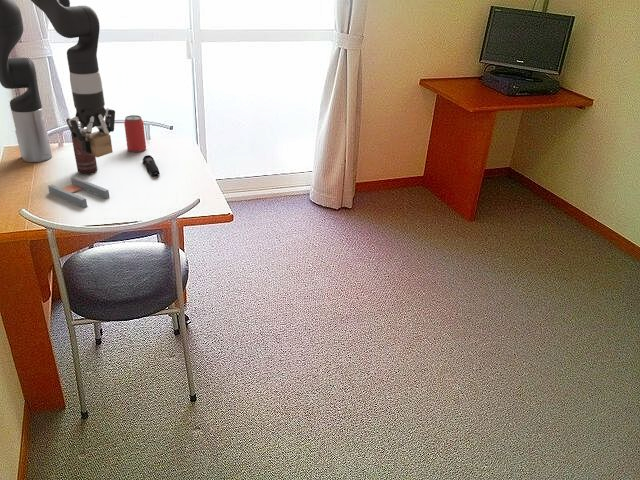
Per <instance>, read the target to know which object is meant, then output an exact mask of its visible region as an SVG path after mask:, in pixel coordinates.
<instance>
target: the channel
mask: <svg viewBox="0 0 640 480" xmlns="http://www.w3.org/2000/svg"><path fill="white" fill-rule="evenodd" d="M70 180H71V184H68V185H65V186H64V187H63V186H62V187H59V186H57V185H54V184H48V186H47V187H48V192H49V194H51V195H53V196H54V197H58V198H60V199H62V200H64V201H68V203H71V204H74V205H76V206H78V207H81V208H83V209H84V208H88V203H87V202H88V201H87V198H85V197H83V196H81V195H79V194H77V193H76V192H79V191H86V192H88V193H91V194H93V195H96V196H98V197H101V198H103V199H106V200H107V199H109V198H110V193H109V192H110V191H109V189H106V188H105V187H102V186H99V185H97V184H95V183H92V182H89V181H86V180H84V179H81V178H80V177H77V176H72V177H70Z"/></svg>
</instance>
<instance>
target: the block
mask: <svg viewBox="0 0 640 480" xmlns="http://www.w3.org/2000/svg"><path fill="white" fill-rule="evenodd" d="M89 141H90V146H91V152H92V153H91V154H89V155H92V156H95V157H96V158H100V157H104V156H105V155H106V156H107V155H109V154H112V153H113V145H112V139H111V135H110V134H109V135H108V134H105V133H102V132H99V130H97V131H94V132H91V133H90V137H89Z"/></svg>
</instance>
